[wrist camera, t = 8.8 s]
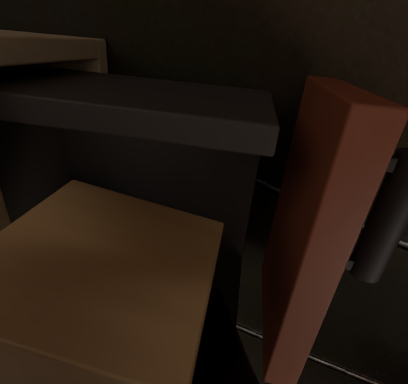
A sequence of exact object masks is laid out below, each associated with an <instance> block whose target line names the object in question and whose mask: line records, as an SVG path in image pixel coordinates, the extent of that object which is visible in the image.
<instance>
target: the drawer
mask: <svg viewBox="0 0 408 384" xmlns="http://www.w3.org/2000/svg"><path fill="white" fill-rule="evenodd" d="M407 120H408V108H407V107H404V106H402V105H400V104H397V103H395V102H392V101H390V100H388V99H385V98H383V97H380V96H378V95H376V94H373V93H371V92H369V91H366V90H364V89H361V88H359V87H357V86H354V85H352V84H349V83H347V82H345V81H342V80H340V79H337V78H331V77H321V76H311V75H309V76H307V78H306V83H305V87H304V91H303V95H302V100H301V104H300V108H299V112H298V117H297V121H296V125H295V130H294V134H293V138H292V142H291V147H290V151H289V155H288V159H287V164H286V168H285V172H284V176H283V181H282V185H281V189H280V194H279V198H278V202H277V206H276V211H275V215H274V219H273V223H272V228H271V232H270V236H269V241H268V245H267V249H266V253H265V258H264V262H263V266H262V309H263V380H264V381H265V382H268V383H272V384H297V381H298V379H299V376H300V374H301V372H302V369H303V367H304V365H305V362H306V360H307V357H308V355H309V353H310V350H311V348H312V346H313V343H314V341H315V338H316V336H317V334H318V331H319V329H320V327H321V324H322V322H323V319H324V317H325V315H326V312H327V310H328V308H329V305H330V303H331V300H332V298H333V296H334V293H335V291H336V288H337V286H338V284H339V281H340V279H341V277H342V274H343V272H344V270H349V272H350V273H351V274H352V275H353V276H354V277H355V278H357V279H359V280H361V281H363V282H367V283H376V282H378V281H379V280H380V278H381V276H382V274H383V272H384V270H385V268H386V266H387V264H388V263H389V261H390V259H391V257H392V255H393V253H394V251H395V249H396V247H397V245H398V243H399V241H400V239H401V237H402V235H403V233H404V231H405V229H406V227H407V225H408V148H399V149H397V151H396V153H395V155H393V153H394V151H395V148H396V146H397V143H398V141H399V139H400V136H401V134H402V131H403V129H404V127H405V124H406V122H407ZM279 130H280V127H279V123H278V119H277V115H276V111H275V107H274V103H273V99H272V93H271V91H268V90H258V89H249V88H240V87H230V86H221V85H211V84H202V83H193V82H183V81H174V80H165V79H155V78H146V77H137V76H127V75H118V74H108V73H99V72H90V71H80V70H71V69H62V68H52V67H45V68H35V69H25V70H15V71H5V72H0V188H1V191H2V195H3V198H4V201H5V205H6V208H7V211H8V215H9V218H10V221H11V223H13V222H14V221H16V220H17V219H18V218H20V217H21V216H23V215H24V214H25V213H27V212H28V211H30V210H31V209H32V208H34V207H35V206H37V205H38V204H39V203H41V202H42V201H44V200H45V199H46V198H48V197H49V196H50V195H52V194H53V193H55V192H56V191H57V190H59V189H60V188H62V187H63V186H64V185H66V184H67V183H69V182H70V181H71V180H77V181H80V182H84V183H87V184H90V185H94V186H97V187H101V188H104V189H108V190H111V191H115V192H118V193H122V194H125V195H129V196H132V197H135V198H139V199H142V200H146V201H149V202H153V203H156V204H160V205H163V206H167V207H170V208H174V209H177V210H181V211H184V212H187V213H191V214H194V215H198V216H201V217H205V218H208V219H212V220H215V221H219V222H222V223H223V224H224V227H223V232H222V237H221V242H220V247H219V251H218V256H217V261H216V266H215V271H214V276H213V281H212V286H211V287H215V288H218V289H220V291H221V293H222V295H223V298H224V300H225V303H226V305H227V307H228V310H229V312H230V315H231V317H232V319H233V322H234V324H235V327H236V322H237V310H238V298H239V286H240V274H241V262H242V254H243V248H244V243H245V238H246V232H247V227H248V221H249V216H250V210H251V205H252V200H253V194H254V189H255V183H256V178H257V173H258V167H259V162H260V156H261V155H262V156H269V157H272V156H273V155H274V154H275V149H276V144H277V139H278V134H279ZM385 172H387V174H386V177H385V179H384V181H383V184H382V186H381V188H380V191H379V193H378V195H377V198H376V200H375V203H374V205H373V207H372V210H371V212H370V214H369V217H368V219H367V221H366V224H365V226H364V228H363V231H362V233H361V236H360V238H359V240H358V243H357V245H356V247H355V250H354V252H353V254H351V253H352V250H353V248H354V246H355V243H356V241H357V239H358V236H359V234H360V231H361V229H362V227H363V224H364V222H365V219H366V217H367V215H368V212H369V210H370V208H371V205H372V203H373V200H374V198H375V196H376V193H377V191H378V189H379V186H380V184H381V181H382V179H383V177H384V174H385Z"/></svg>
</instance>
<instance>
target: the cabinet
mask: <svg viewBox="0 0 408 384" xmlns="http://www.w3.org/2000/svg"><path fill="white" fill-rule="evenodd" d="M45 67H52V68H62V69H71V70H80V71H90V72H99V73H108V65H107V52H106V41H105V39H98V38H87V37H76V36H65V35H54V34H43V33H32V32H21V31H11V30H0V72H5V71H15V70H25V69H35V68H45ZM10 224H11V221H10V218H9V215H8V211H7V208H6V205H5V201H4V198H3V195H2V191H1V188H0V231H2V230H3V229H4V228H6V227H7V226H9V225H10Z"/></svg>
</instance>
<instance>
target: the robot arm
mask: <svg viewBox="0 0 408 384" xmlns="http://www.w3.org/2000/svg"><path fill="white" fill-rule="evenodd" d="M192 384H259V382H258V380H257V377H256V375H255V372H254V370H253V368H252V365H251V363H250V360H249V358H248V356H247V353H246V351H245V348H244V346H243V344H242V341H241V339H240V336H239V334H238V332H237V329H236V327H235V324H234V322H233V319H232V317H231V315H230V312H229V310H228V307H227V305H226V303H225V300H224V298H223V295H222V293H221V291H220V289H218V288H215V287H211V291H210V296H209V301H208V306H207V310H206V315H205V320H204V325H203V330H202V335H201V340H200V345H199V350H198V355H197V360H196V365H195V369H194V374H193V379H192Z"/></svg>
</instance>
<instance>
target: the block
mask: <svg viewBox="0 0 408 384" xmlns="http://www.w3.org/2000/svg"><path fill="white" fill-rule="evenodd" d="M223 227H224V224H223V223H222V222H219V221H215V220H212V219H208V218H205V217H201V216H198V215H194V214H191V213H187V212H184V211H181V210H177V209H174V208H170V207H167V206H163V205H160V204H156V203H153V202H149V201H146V200H142V199H139V198H135V197H132V196H129V195H125V194H122V193H118V192H115V191H111V190H108V189H104V188H101V187H97V186H94V185H90V184H87V183H84V182H80V181H77V180H71V181H70V182H69V183H67V184H66V185H64V186H63V187H62V188H60V189H59V190H57V191H56V192H55V193H53V194H52V195H50V196H49V197H48V198H46V199H45V200H44V201H42V202H41V203H39V204H38V205H37V206H35V207H34V208H32V209H31V210H30V211H28V212H27V213H25V214H24V215H23V216H21V217H20V218H18V219H17V220H16V221H14V222H13V223H11V224H10V225H9V226H7V227H6V228H4V229H3V230H2V231H0V384H192V379H193V374H194V369H195V365H196V360H197V355H198V350H199V345H200V340H201V335H202V330H203V325H204V320H205V315H206V310H207V306H208V301H209V296H210V291H211V286H212V281H213V276H214V271H215V266H216V261H217V256H218V251H219V247H220V242H221V237H222V232H223Z"/></svg>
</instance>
